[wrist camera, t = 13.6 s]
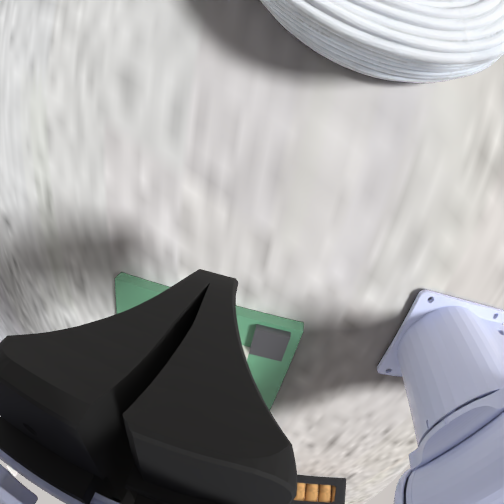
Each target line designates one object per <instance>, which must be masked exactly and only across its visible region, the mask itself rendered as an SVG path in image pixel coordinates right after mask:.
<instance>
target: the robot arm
mask: <svg viewBox="0 0 504 504" xmlns="http://www.w3.org/2000/svg"><path fill="white" fill-rule="evenodd" d="M237 286H238V281H237V280H236V279H235V278H231V277H227V276H224V275H220V274H216V273H212V272H209V271H205V270H201V269H199V270H197V271H196V272H194V273H192V274H191V275H189V276H188V277H186V278H185V279H183V280H181V281H180V282H178V283H177V284H175V285H174V286H172V287H170V288H168V289H167V290H165V291H163V292H162V293H160V294H158V295H157V296H155V297H153V298H151V299H149V300H147V301H145V302H143V303H141V304H139V305H137V306H135V307H133V308H131V309H128V310H126V311H123V312H121V313H118V314H116V315H113V316H111V317H108V318H105V319H101V320H98V321H95V322H91V323H88V324H84V325H81V326H77V327H73V328H68V329H63V330H58V331H52V332H46V333H38V334H27V335H15V336H7V337H6V338H5V339H3V340H2V341H1V342H0V416H1V417H0V459H1V460H2V461H4V462H5V463H6V464H7V465H9V466H10V467H11V468H13V469H14V470H15V471H17V472H18V473H20V474H21V475H22V476H24V477H25V478H26V479H28V480H29V481H31V482H32V483H34V484H35V485H37V486H38V487H40V488H41V489H43V490H44V491H46V492H48V493H49V494H51V495H52V496H54V497H56V498H57V499H59V500H61V501H62V502H64V503H66V504H289V503H291V502H292V501H293V500H294V498H295V497H296V495H297V470H296V463H295V458H294V452H293V448H292V444H291V443H290V441H289V440H288V439H287V437H286V436H285V434H284V433H283V431H282V430H281V428H280V427H279V425H278V424H277V422H276V421H275V419H274V418H273V416H272V414H271V412H270V411H269V409H268V407H267V405H266V403H265V402H264V400H263V398H262V395H261V393H260V391H259V389H258V387H257V385H256V383H255V381H254V378H253V376H252V374H251V371H250V368H249V365H248V363H247V360H246V357H245V353H244V350H243V346H242V343H241V338H240V334H239V329H238V323H237V315H236V291H237ZM429 297H432V298H431V299H430V300H428V298H429ZM494 314H495V315H494ZM503 323H504V310H501V309H497V308H493V307H490V306H486V305H482V304H479V303H475V302H471V301H467V300H464V299H460V298H456V297H452V296H449V295H445V294H441V293H437V292H434V291H430V290H422V291H420V292H419V293H418V295H417V297H416V299H415V301H414V303H413V305H412V307H411V309H410V311H409V313H408V314H407V316H406V318H405V320H404V322H403V324H402V325H401V327H400V329H399V331H398V333H397V334H396V336H395V338H394V340H393V341H392V343H391V345H390V346H389V348H388V350H387V351H386V353H385V355H384V356H383V358H382V360H381V361H380V363H379V364H378V366H377V371H378V373H380V374H385V375H392V376H399V377H403V381H404V385H405V389H406V393H407V397H408V401H409V406H410V410H411V415H412V419H413V424H414V429H415V434H416V439H417V444H418V448H417V449H416V450H414V451H413V452H411V453H410V454H409V460H410V466H411V468H410V469H408V470H407V471H406V472H405V473H404V474H403V475H402V476H401V478H400V479H399V482H398V484H397V487H396V491H395V498H394V504H504V326H503ZM387 369H388V370H387ZM37 500H38V498H37V496H36V495H35V494H34V493H32V492H31V491H30V490H28V489H27V488H26V487H25V486H24V485H22V484H21V483H20V482H19V481H18V480H17V479H16V478H15V477H14V476H12V474H11V473H10V472H9V471H8V470H6V469H5V468H4V467H3V466H2V465H1V464H0V504H35V503H36V501H37Z"/></svg>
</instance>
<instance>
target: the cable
mask: <svg viewBox="0 0 504 504" xmlns="http://www.w3.org/2000/svg"><path fill="white" fill-rule="evenodd" d="M260 1H261V2H262V4H263V5H264V6H265V7H266V8H267V9H268V10H269V11H270V13H271V14H272V15H273V16H274V17H275V18H276V20H277V21H278V22H279V23H280V24H281V25H282V26H283V27H284V28H286V29H287V30H288V31H289V32H290V33H291V34H293V35H294V36H295V37H296V38H298V39H299V40H300V41H301V42H303V43H304V44H305V45H307V46H308V47H310V48H311V49H312V50H314V51H316V52H317V53H319V54H320V55H322V56H324V57H326V58H328V59H329V60H331V61H333V62H335V63H337V64H339V65H341V66H343V67H346V68H348V69H351V70H353V71H356V72H359V73H362V74H364V75H368V76H371V77H375V78H380V79H384V80H391V81H401V82H411V83H435V82H441V81H447V80H452V79H457V78H461V77H466V76H470V75H473V74H475V73H478V72H480V71H482V70H484V69H486V68H488V67H489V66H490V65H492V64H493V63H494V62H496V61H497V60H498V59H499V57H500V56H502V55H504V0H260Z"/></svg>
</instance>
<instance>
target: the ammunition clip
mask: <svg viewBox="0 0 504 504" xmlns="http://www.w3.org/2000/svg"><path fill="white" fill-rule="evenodd" d="M345 490H346V478H329V477H315V476H304V475H297V495H296V497H295V498H294V500H293V501H292V502H291V503H289V504H345ZM304 497H305V499H304ZM317 499H318V502H317Z"/></svg>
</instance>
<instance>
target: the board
mask: <svg viewBox="0 0 504 504" xmlns="http://www.w3.org/2000/svg"><path fill="white" fill-rule="evenodd" d="M168 288H170V287H168V286H164V285H161V284H158V283H154V282H151V281H148V280H145V279H141V278H138V277H135V276H132V275H129V274H126V273H122V272H121V273H120V274H119V275H118V276H117V277H116V278H115V291H116V309H117V314H118V313H121V312H123V311H126V310H128V309H131V308H133V307H135V306H137V305H139V304H141V303H143V302H145V301H147V300H149V299H151V298H153V297H155V296H157V295H158V294H160V293H162V292H163V291H165V290H167V289H168ZM236 315H237V323H238V329H239V334H240V338H241V343H242V346H243V350H244V353H245V357H246V360H247V363H248V365H249V368H250V371H251V374H252V376H253V378H254V381H255V383H256V385H257V387H258V389H259V391H260V393H261V395H262V398H263V400H264V402H265V403H266V405H267V407H268V409H269V411H270V409H271V406H272V404H273V402H274V400H275V398H276V395H277V393H278V391H279V389H280V386H281V384H282V382H283V379H284V377H285V375H286V372H287V370H288V368H289V365H290V363H291V361H292V358H293V356H294V353H295V351H296V349H297V346H298V344H299V341H300V339H301V336H302V334H303V328H304V323H303V322H299V321H295V320H290V319H286V318H282V317H278V316H274V315H270V314H266V313H262V312H258V311H254V310H250V309H246V308H243V307H239V306H236Z"/></svg>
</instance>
